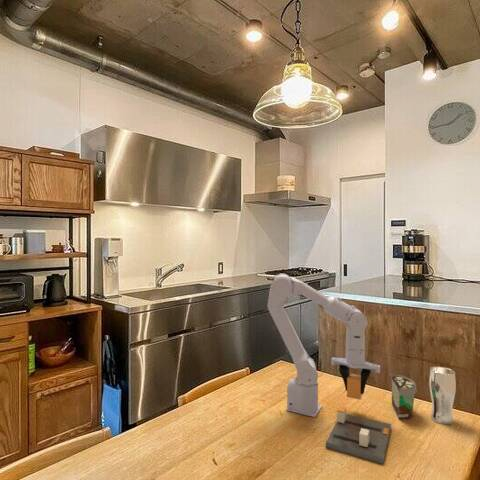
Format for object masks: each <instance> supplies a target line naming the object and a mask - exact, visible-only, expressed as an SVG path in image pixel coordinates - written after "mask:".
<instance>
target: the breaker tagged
mask: <svg viewBox="0 0 480 480" xmlns="http://www.w3.org/2000/svg"><path fill="white" fill-rule="evenodd" d="M346 414H347V407H345V406H343V405H339V406H338V408H337V409H336V415H337V416H336V422H341V423H344V422H345V420H346Z"/></svg>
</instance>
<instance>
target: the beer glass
mask: <svg viewBox="0 0 480 480" xmlns="http://www.w3.org/2000/svg"><path fill="white" fill-rule="evenodd" d="M428 379H429V385H428V386H429V392H430V399H431V406H432V407H431V413H430V418H431V420H432V421H433V422H434V423H435V422H436V423H437V424H439V425H449V426H450V425H453V424H454V415H453V406H454V401H455V398H456V397H455V396H456V390H457V386H456V385H457V384H456V383H457V380H456V371H454V370H453V369H451V368H449V367H445V366H444V367H443V366H431V367H430V369H429V378H428Z"/></svg>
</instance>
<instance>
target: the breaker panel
mask: <svg viewBox="0 0 480 480" xmlns="http://www.w3.org/2000/svg"><path fill="white" fill-rule="evenodd" d="M361 428H363V429H367V430H369V444H368V447H364V446H361V445H359V433H360V430H361ZM391 430H392V423H388V422H384V421H381V420H380V421H379V420H375V419H370V418H368V417H361V416H358V415H354V414H351V413H350V414H349V413H346V420H345V422H344V423H341V422H337V421H336V422H335V424H334V425H333V428H332V430H331V432H330V433H329V436H328V437H327V439H326V441H325V449H329V450H332V451H335V452H340V453H343V454H346V455H349V456H353V457H357V458H360V459H363V460H367V461H369V462H373V463H377V464H380V465H384V462H385V456H386V453H387V447H388V443H389V440H390V436H391V435H390V434H391Z"/></svg>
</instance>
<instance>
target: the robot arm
mask: <svg viewBox="0 0 480 480" xmlns="http://www.w3.org/2000/svg"><path fill="white" fill-rule="evenodd" d="M291 293H292V296H298V295H299V296H303V297H305V298H307V299H309V300H311V301H313V302H315V303H317V304H318V305H320V306H322V307H323V311H324V313H326V314H328V315H330V316H331V317H333V318H335V319H336V320H337V321H340V322H341V323H346V332H345V358H344V357H332V358H331V365H332V366H339V367H338V372H339V373H340V375H341V378H342V380H343V384H344V387H345V391H346V392H347V377H348V376H349V374H350V369H355V370H361V371H360V376H361V394H363V395H364V393H365V388H366V386H367V385H366V384H367V381H368V379H369V377H370V375H371V373H373V372H374V373H375V374H380V373H381V365H379V364H375V363H371V362H369V361H366V360H365V359H366V332H365V331H366V330H365V329H366V328H367V326H368V321H367V320H368V319H367V317H366V315H365V314H364V313H363V312H362V311H361V310H359V309H358V308H357V307H356V306H355V305H353V304H352V305H349V304H348V303H346V302H345V301H343V299H342V298H341V297H339V296H337V297H336V296H330V297H327V296H326V295H325V294H324V293H321V292H320V291H318V290H317V289H315V288H313V287H312V286H310V285H308V284H307V283H305V282H303V281H302V280H299V279H297V278H295V277H292V276H291V277H290V275H288V274H286V273H278V274H276V276H275V277H274V278H273V281H272V282H271V285H270V288H269V294H268V300H267V310H268V311H269V314H270V316H271V318H272V319H273V322H274V323H275V326H276V328H277V330H278V332H279V334H280V336H281V338H282V340H283V342H284V344H285V347H286V348H287V350H288V352H289V355H290V356H291V358H292V361H293V365H294V366H295V367H294V368H295V369H296V373H297V374H296V377H295V378H289V381H288V382H287V389H286V398H287V399H286V411H289V412H292V413H296V414H300V415H303V416H309V417H312V418H316V416H317V415H318V414H319V412H320V411H321V409H322V408H323V405H321V404H319V379H318V378H319V374H318V371H317V369H316V367H317V366H316V362H315V360H314V359H313V358H312V357H310V356H309V354H308V352H307V350H305V347H304V345H303V344H302V342H301V340H300V337H299V336H298V334H297V331H296V330H295V328H294V326H293V323H292V322H291V320H290V317H289V315H288V314H287V312H286V309H285V308H284V304H285V302H286V299H287V298H288V297H289V296H290V294H291Z"/></svg>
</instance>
